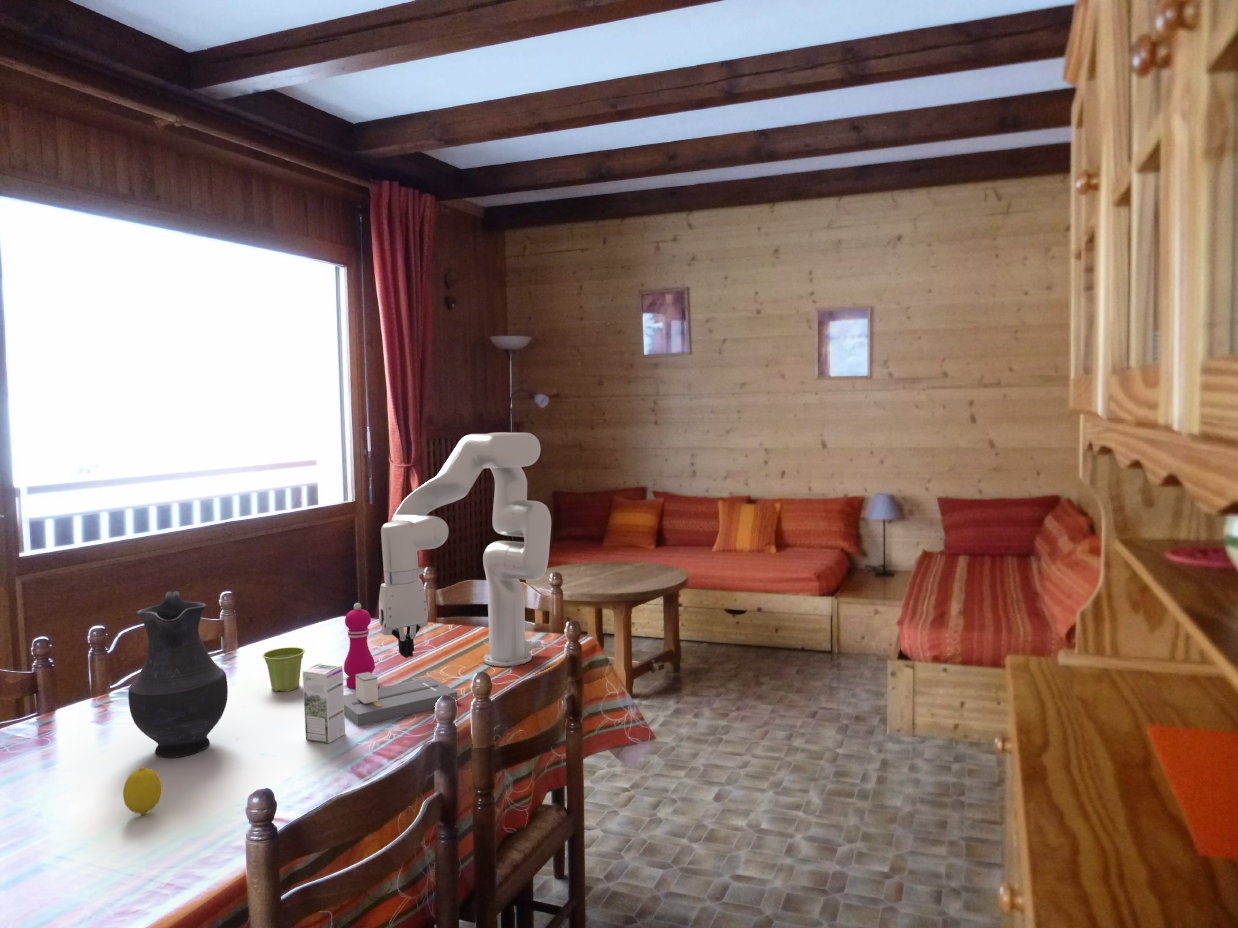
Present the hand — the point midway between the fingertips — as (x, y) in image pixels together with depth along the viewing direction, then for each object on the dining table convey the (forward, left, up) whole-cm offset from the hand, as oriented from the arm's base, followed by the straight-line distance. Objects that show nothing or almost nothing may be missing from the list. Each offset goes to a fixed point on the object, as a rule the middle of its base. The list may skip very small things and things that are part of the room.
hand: (406, 655), depth 196 cm
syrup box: (+22, +9, -11) cm, 26 cm away
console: (+3, 0, -11) cm, 11 cm away
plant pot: (+19, -29, -11) cm, 36 cm away
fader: (+10, 0, -8) cm, 12 cm away
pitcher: (+46, -5, -11) cm, 47 cm away
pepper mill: (+4, -20, -11) cm, 23 cm away
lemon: (+57, +24, -11) cm, 63 cm away
